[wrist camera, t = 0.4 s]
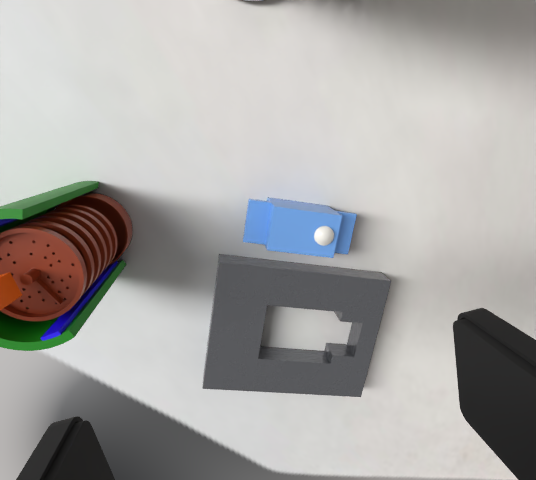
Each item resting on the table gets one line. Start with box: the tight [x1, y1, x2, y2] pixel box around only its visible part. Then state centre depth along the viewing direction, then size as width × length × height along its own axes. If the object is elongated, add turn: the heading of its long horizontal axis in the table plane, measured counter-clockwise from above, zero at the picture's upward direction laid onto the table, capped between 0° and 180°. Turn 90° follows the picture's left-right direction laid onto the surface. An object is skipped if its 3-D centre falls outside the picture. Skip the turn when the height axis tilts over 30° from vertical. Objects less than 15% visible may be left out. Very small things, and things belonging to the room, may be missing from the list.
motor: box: [0, 181, 132, 351], centre depth 30 cm, size 10×9×20 cm
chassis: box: [203, 254, 391, 397], centre depth 44 cm, size 16×20×3 cm
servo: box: [243, 197, 357, 258], centre depth 39 cm, size 4×12×6 cm, turn 81°
